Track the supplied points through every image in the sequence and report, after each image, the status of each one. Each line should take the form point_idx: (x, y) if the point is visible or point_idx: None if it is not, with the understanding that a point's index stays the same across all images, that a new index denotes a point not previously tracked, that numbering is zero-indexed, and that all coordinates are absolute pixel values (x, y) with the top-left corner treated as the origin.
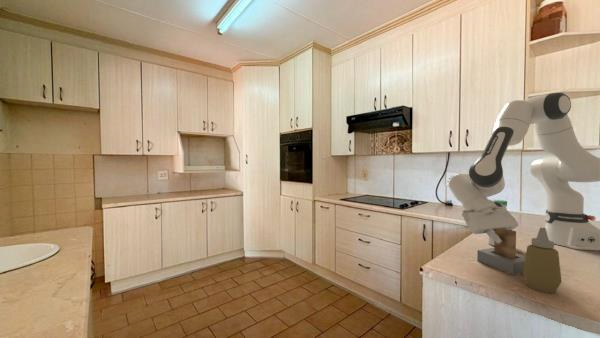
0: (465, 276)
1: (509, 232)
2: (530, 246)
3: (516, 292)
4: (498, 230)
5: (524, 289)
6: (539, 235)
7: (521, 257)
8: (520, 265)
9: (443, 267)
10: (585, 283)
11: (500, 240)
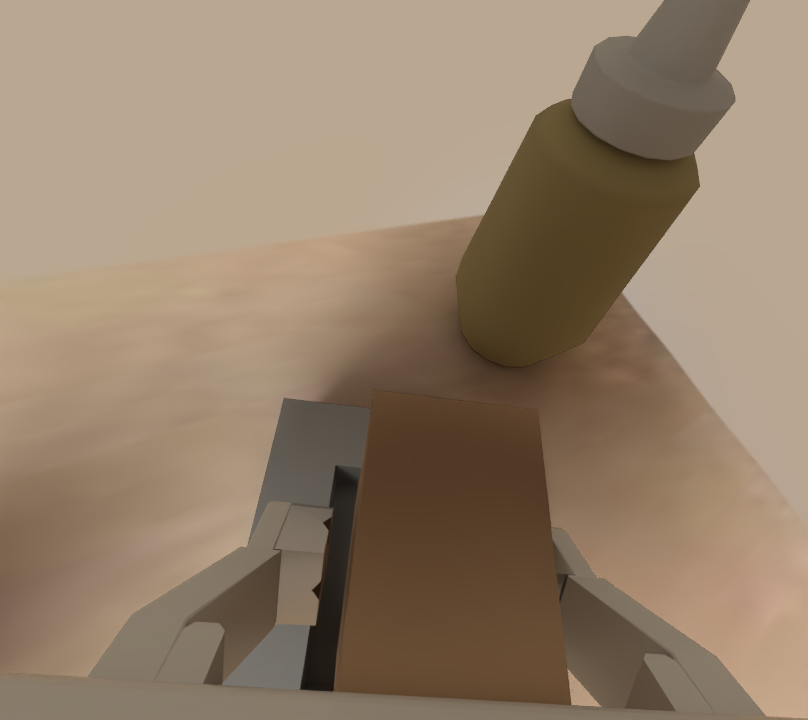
0: (795, 561)
1: (531, 422)
2: (691, 175)
3: (645, 354)
4: (549, 658)
5: (586, 353)
6: (735, 20)
7: (327, 463)
8: None
9: None
10: (243, 268)
11: (568, 535)
